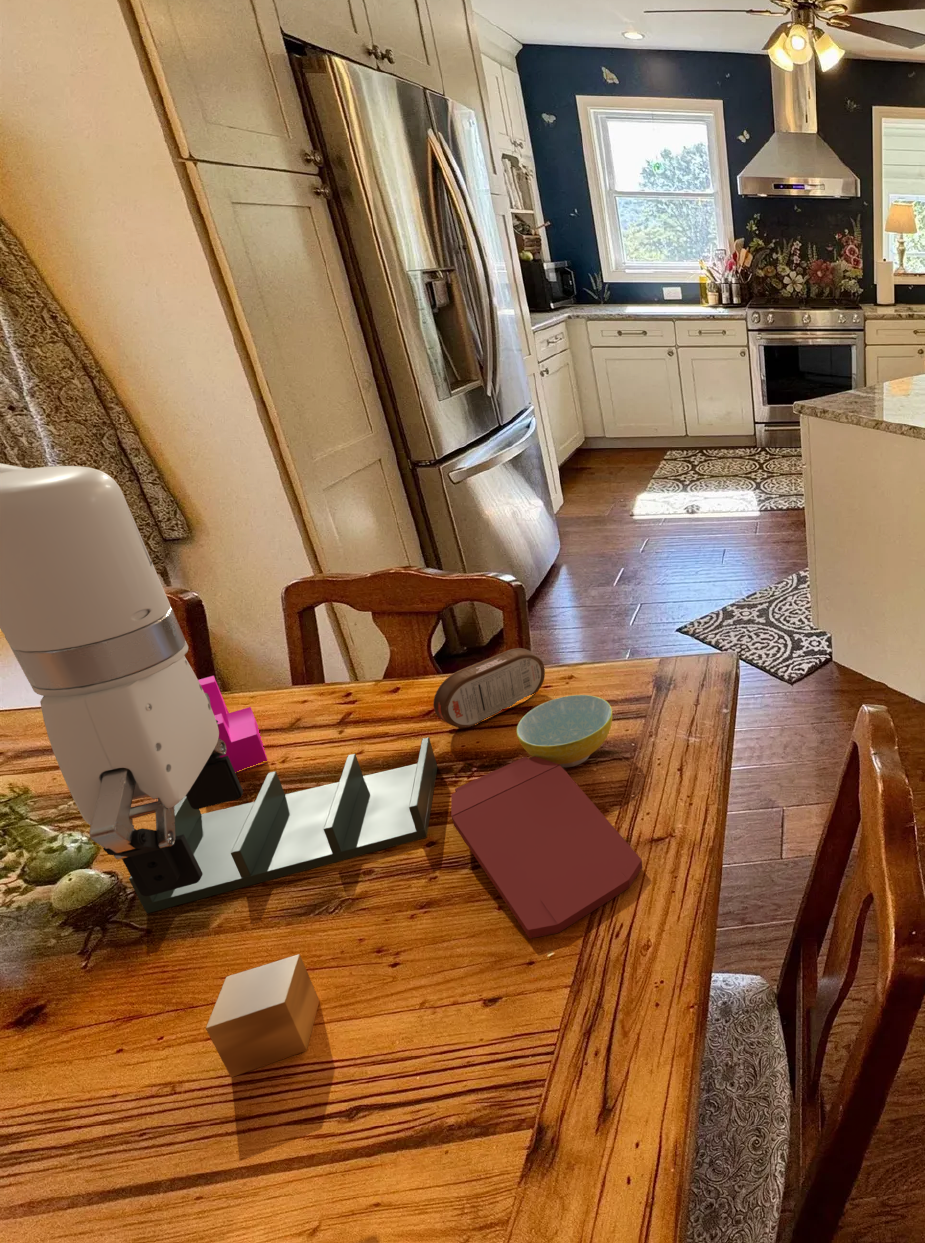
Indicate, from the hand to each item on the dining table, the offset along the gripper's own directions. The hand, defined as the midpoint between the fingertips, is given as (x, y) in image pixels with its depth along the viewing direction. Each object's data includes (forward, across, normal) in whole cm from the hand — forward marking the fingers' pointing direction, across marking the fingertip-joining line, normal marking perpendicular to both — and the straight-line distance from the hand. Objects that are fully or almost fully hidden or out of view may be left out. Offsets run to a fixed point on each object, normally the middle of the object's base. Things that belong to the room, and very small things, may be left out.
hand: (198, 841), depth 57 cm
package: (+21, +2, 0) cm, 21 cm away
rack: (+20, -27, -3) cm, 34 cm away
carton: (+21, -12, +21) cm, 32 cm away
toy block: (+20, -51, -16) cm, 57 cm away
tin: (+21, -44, +16) cm, 52 cm away
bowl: (+21, -28, +25) cm, 43 cm away
